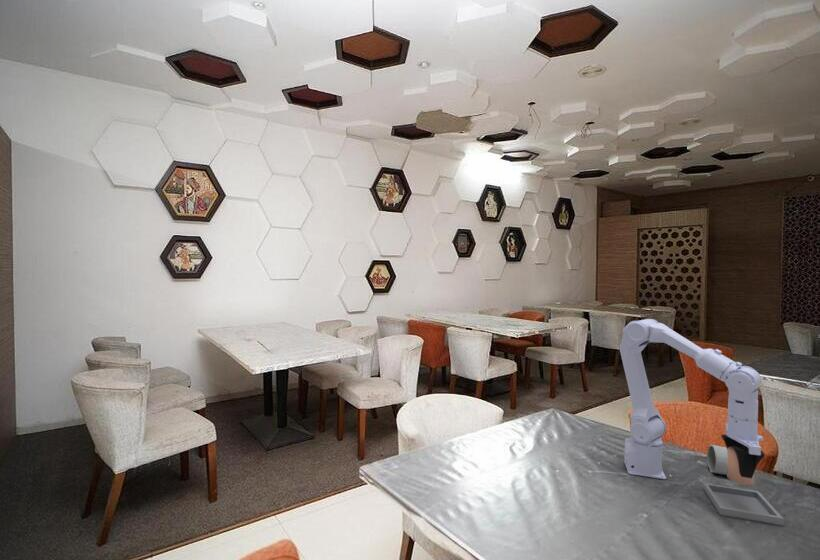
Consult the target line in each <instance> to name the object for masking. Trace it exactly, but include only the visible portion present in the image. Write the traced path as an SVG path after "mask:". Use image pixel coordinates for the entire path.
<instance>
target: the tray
mask: <svg viewBox="0 0 820 560" xmlns="http://www.w3.org/2000/svg"><path fill="white" fill-rule="evenodd" d="M702 485H703V487H702V488H703V489H702V490H703V491H704V493H705V495H706V496H707V498H708V499H709V501H710V502H711V504H712V505H713V507H714V508H715V509H716V511H717V512H718V514H719V515H720V516H721V517H727V518H734V519H737V520H738V519H739V520H746V521H751V522H756V523H762V524H767V525H774V526H779V527H784V522H785V521H784V517H783V516H782V515H781V514H780V513H779V512H778V510H776V508H774V506H773V505H772V504H771V503H770V502H769V501H768V500H767V498H765V496H764V495H763V494H762V493H761V492H760V491H758V490H753V489H752V490H751V489H746V488H739V487H731V486H726V485H720V484H713V483H708V482H707V483H705V482H703V484H702Z"/></svg>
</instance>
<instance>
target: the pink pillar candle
mask: <svg viewBox="0 0 820 560" xmlns="http://www.w3.org/2000/svg"><path fill="white" fill-rule="evenodd" d="M726 448H727V447H726ZM726 476H727V478H728V479H729V480H730V481H732V482H735V483H737V484H740V485H745V486H747V485H748V486H751V485H755V474H754V475H753V477H752V478H746V477H742V476H741V475H740V472H739V464H738V459H737V455H736V453H735V451H734V449H733V447H728V448H727V475H726Z"/></svg>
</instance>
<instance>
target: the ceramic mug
mask: <svg viewBox="0 0 820 560" xmlns="http://www.w3.org/2000/svg"><path fill="white" fill-rule="evenodd" d="M706 455H707V456H706V457H707V465H708V468H709V471H710V473H713V474H719V475H725V476H727V447H726V446H721V445H716V444H710V445H709V446H708V449H707V454H706Z"/></svg>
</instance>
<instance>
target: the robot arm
mask: <svg viewBox="0 0 820 560" xmlns="http://www.w3.org/2000/svg"><path fill="white" fill-rule="evenodd" d="M650 343H660V344H662V343H664V344H666V345H668V346H670V347H672V348H673V349H675V350H677V351H679V352H681V353H683V354H684V355H686V356H689V358H692V359H694V362H695V364H696V366H697V367H698V368H700V370H701V369H702V370H703V371H705V372H706V373H708V374H709V375H711V376H713V377H715V378H716V379H718V380H720V381H722V382H724V383H725V386H726V387H727V388H728V396H727V401H728V402H727V423H725V433H726V434H721V435H720V436H721V438H722V440H723V442H724V444H725V447H726V448H728V447H733V449H734V451H735V453H736V455H737V459H738V464H739V472H740V475H741V476H742V477H746V478H752V477H753V475H754V476H755V471H756V469H757V466H758V465H759V463H760V462H761V460H763V459H764V457H765V452H764V451H762V447H761V446H760V442H763V441H764V437H763V436H762V435H760V434H758V423H759V421H758V420H759V400H758V399H759V390H758V388H759V387H760V386H761V385H762V376H761V374H760V373H759V372H758V371H757V370H756V369H754V368H753V367H751V366H749V365H748V366H747V365H743V363H742V362H740V361H734V359H733V360H732V359H731V358H729V357H727V356H725V354H724V355H723V354H722V353H723V351H722V350H719V349H718V348H716V349H713V348H702V347H700V346H699V345H697V344H695V343H694V342H692V341H690V340H689V339H687V337H684V336H682V335H681V334H679V333H678V332H676V331H674V330H673V329H671V328H670V327H668V326H667V325H666V324H664V323H661V322H659V321H658V320H656V319H653V318H645V319H641V320H632V321H629V323H627V324H626V325H625V326H624V328H623V329H622V336H621V341H620V345H619V353H620V356H621V357H620V358H621V361H622V366H623V370H624V373H625V375H624V376H625V379H626V382H627V383H626V384H627V388H628V392H629V396H630V399H631V405H632V410H631V414H630V416H629V418H630V426H629V432H630V435H631V436H632V437H626V438H625V439H624V461H623V462H624V466H625V468H626V472H627V473H628V474H629V475H633V476H634V475H635V476H641V477H648V478H653V479H661V480H667V476H666V474H665V472H664V471H663V439H662V436H664V435H665V434H666V433H667V425H666V422H665V421H664V420H663V418H662V417H661V414H660V411H659V410H658V409H657V407H656V406H655V405H654V401H653V397H652V395H651V394H652V393H651V389H650V385H649V380H648V376H647V373H646V372H647V371H646V367H645V365H644V360H643V356H642V351H643V350H644V349H645V348H646V347H647V345H648V344H650Z"/></svg>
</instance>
